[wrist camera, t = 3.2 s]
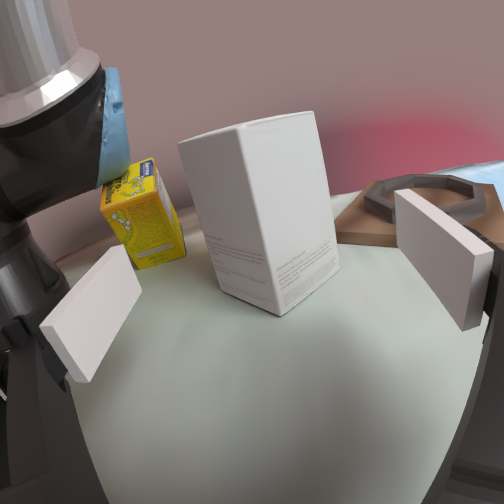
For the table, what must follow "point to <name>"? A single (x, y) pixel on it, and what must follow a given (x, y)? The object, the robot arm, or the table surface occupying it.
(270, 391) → the table surface
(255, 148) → the supplement box
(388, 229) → the mount plate
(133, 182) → the supplement box
